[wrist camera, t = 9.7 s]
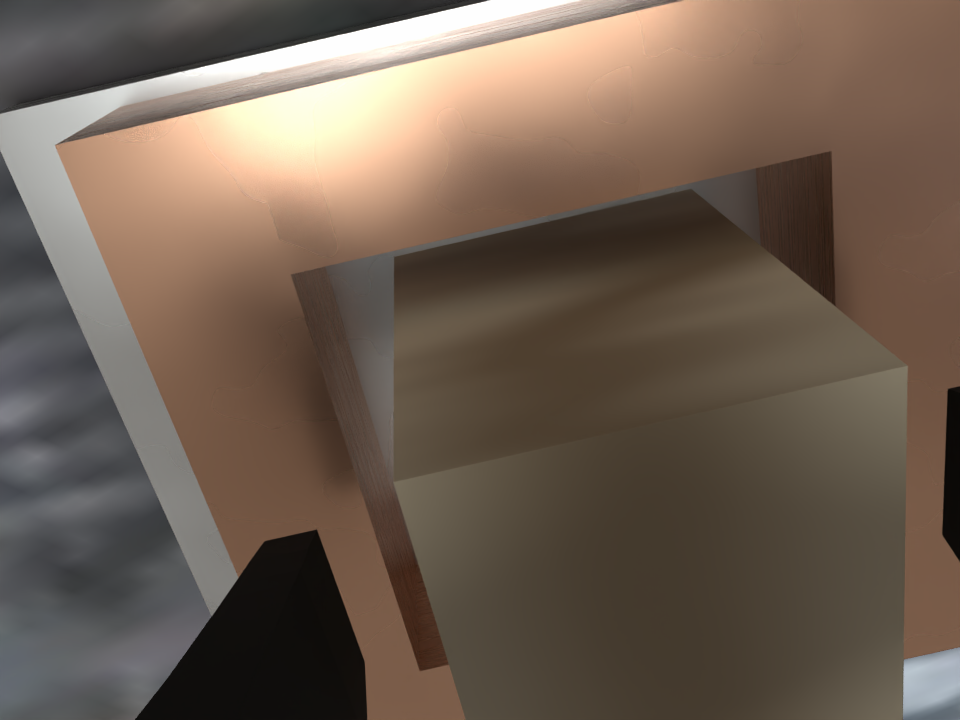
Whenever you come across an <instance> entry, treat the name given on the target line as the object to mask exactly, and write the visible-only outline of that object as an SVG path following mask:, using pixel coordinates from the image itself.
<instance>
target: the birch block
mask: <svg viewBox="0 0 960 720" xmlns="http://www.w3.org/2000/svg"><path fill="white" fill-rule="evenodd" d="M907 375H908V366H907V365H906V364H905V363H904V362H902V361H901V360H900V359H899V358H898V357H896V356H895V355H894V354H893V353H891V352H890V351H889V350H888V349H887V348H885V347H884V346H883V345H882V344H880V343H879V342H878V341H877V340H876V339H874V338H873V337H872V336H871V335H869V334H868V333H867V332H866V331H865V330H863V329H862V328H861V327H860V326H858V325H857V324H856V323H855V322H854V321H852V320H851V319H850V318H849V317H847V316H846V315H845V314H844V313H843V312H841V311H840V310H839V309H838V308H836V307H835V306H834V305H833V304H832V303H830V302H829V301H828V300H827V299H825V298H824V297H823V296H822V295H821V294H819V293H818V292H817V291H816V290H814V289H813V288H812V287H811V286H810V285H808V284H807V283H806V282H805V281H803V280H802V279H801V278H800V277H799V276H797V275H796V274H795V273H794V272H792V271H791V270H790V269H789V268H788V267H786V266H785V265H784V264H783V263H781V262H780V261H779V260H778V259H777V258H775V257H774V256H773V255H772V254H770V253H769V252H768V251H767V250H766V249H764V248H763V247H762V246H761V245H759V244H758V243H757V242H756V241H755V240H753V239H752V238H751V237H750V236H748V235H747V234H746V233H745V232H744V231H742V230H741V229H740V228H739V227H737V226H736V225H735V224H734V223H732V222H731V221H730V220H729V219H728V218H726V217H725V216H724V215H723V214H721V213H720V212H719V211H718V210H717V209H715V208H714V207H713V206H712V205H710V204H709V203H708V202H707V201H706V200H704V199H703V198H702V197H701V196H699V195H698V194H697V193H696V192H695V191H693V190H692V189H688V190H683V191H679V192H675V193H670V194H666V195H662V196H657V197H653V198H648V199H644V200H640V201H635V202H631V203H627V204H622V205H618V206H614V207H609V208H605V209H601V210H596V211H592V212H587V213H583V214H579V215H574V216H570V217H566V218H561V219H557V220H553V221H548V222H544V223H539V224H535V225H531V226H526V227H522V228H518V229H513V230H509V231H505V232H500V233H496V234H492V235H487V236H483V237H478V238H474V239H470V240H465V241H461V242H457V243H452V244H448V245H444V246H439V247H435V248H431V249H426V250H422V251H417V252H413V253H409V254H404V255H400V256H396V257H394V444H393V483H394V486H395V489H396V492H397V496H398V499H399V502H400V506H401V509H402V512H403V515H404V519H405V522H406V525H407V529H408V532H409V535H410V538H411V542H412V545H413V548H414V552H415V555H416V558H417V561H418V565H419V568H420V571H421V574H422V578H423V581H424V584H425V588H426V591H427V594H428V597H429V601H430V604H431V607H432V611H433V614H434V617H435V620H436V624H437V627H438V630H439V634H440V637H441V640H442V643H443V647H444V650H445V653H446V657H447V660H448V663H449V666H450V670H451V673H452V676H453V680H454V683H455V686H456V689H457V693H458V696H459V699H460V702H461V706H462V709H463V712H464V716H465V719H466V720H903V666H904V593H905V520H906V448H907Z"/></svg>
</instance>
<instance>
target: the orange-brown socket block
mask: <svg viewBox="0 0 960 720" xmlns="http://www.w3.org/2000/svg"><path fill="white" fill-rule="evenodd" d="M0 151H1V153H2V155H3V158H4V160H5V162H6V164H7V166H8V169H9V171H10V173H11V175H12V177H13V180H14V182H15V184H16V186H17V188H18V191H19V193H20V195H21V197H22V199H23V202H24V204H25V206H26V208H27V210H28V213H29V215H30V217H31V219H32V221H33V224H34V226H35V228H36V230H37V232H38V235H39V237H40V239H41V241H42V243H43V246H44V248H45V250H46V252H47V254H48V257H49V259H50V261H51V263H52V265H53V268H54V270H55V272H56V274H57V276H58V279H59V281H60V283H61V285H62V287H63V290H64V292H65V294H66V296H67V298H68V301H69V303H70V305H71V307H72V310H73V312H74V314H75V316H76V318H77V321H78V323H79V325H80V327H81V329H82V332H83V334H84V336H85V338H86V340H87V343H88V345H89V347H90V349H91V351H92V354H93V356H94V358H95V360H96V362H97V365H98V367H99V369H100V371H101V373H102V376H103V378H104V380H105V382H106V384H107V387H108V389H109V391H110V393H111V395H112V398H113V400H114V402H115V404H116V406H117V409H118V411H119V413H120V415H121V417H122V420H123V422H124V424H125V426H126V428H127V431H128V433H129V435H130V437H131V439H132V442H133V444H134V446H135V448H136V450H137V453H138V455H139V457H140V459H141V462H142V464H143V466H144V468H145V470H146V473H147V475H148V477H149V479H150V481H151V484H152V486H153V488H154V490H155V492H156V495H157V497H158V499H159V501H160V503H161V506H162V508H163V510H164V512H165V514H166V517H167V519H168V521H169V523H170V525H171V528H172V530H173V532H174V534H175V536H176V539H177V541H178V543H179V545H180V547H181V550H182V552H183V554H184V556H185V558H186V561H187V563H188V565H189V567H190V569H191V572H192V574H193V576H194V578H195V580H196V583H197V585H198V587H199V589H200V591H201V594H202V596H203V598H204V600H205V602H206V605H207V607H208V609H209V611H210V614H211V616H212V615H213V614H214V612H215V611H216V610H217V608H218V607H219V605H220V604H221V602H222V601H223V599H224V598H225V597H226V595H227V594H228V592H229V591H230V589H231V588H232V586H233V585H234V584H235V582H236V581H237V579H238V578H239V576H240V575H241V573H242V572H243V570H244V569H245V568H246V566H247V565H248V563H249V562H250V560H251V559H252V558H253V556H254V555H255V553H256V552H257V551H258V549H259V548H260V547H261V545H262V544H263V543H264V541H267V540H272V539H276V538H281V537H285V536H290V535H294V534H299V533H303V532H308V531H312V530H316V529H317V531H318V534H319V536H320V539H321V542H322V545H323V547H324V550H325V553H326V556H327V558H328V561H329V564H330V567H331V570H332V572H333V575H334V578H335V581H336V583H337V586H338V589H339V592H340V594H341V597H342V600H343V603H344V606H345V608H346V611H347V614H348V617H349V619H350V622H351V625H352V628H353V630H354V633H355V636H356V639H357V642H358V644H359V647H360V650H361V653H362V655H363V658H364V661H365V675H366V697H367V720H466V719H465V716H464V712H463V709H462V706H461V702H460V699H459V696H458V693H457V689H456V686H455V683H454V680H453V676H452V673H451V670H450V666H449V663H448V660H447V657H446V653H445V650H444V647H443V643H442V640H441V637H440V634H439V630H438V627H437V624H436V620H435V617H434V614H433V611H432V607H431V604H430V601H429V597H428V594H427V591H426V588H425V584H424V581H423V578H422V574H421V571H420V568H419V565H418V561H417V558H416V555H415V552H414V548H413V545H412V542H411V538H410V535H409V532H408V529H407V525H406V522H405V519H404V515H403V512H402V509H401V506H400V502H399V499H398V496H397V492H396V489H395V486H394V483H393V444H394V257H396V256H400V255H404V254H409V253H413V252H417V251H422V250H426V249H431V248H435V247H439V246H444V245H448V244H452V243H457V242H461V241H465V240H470V239H474V238H478V237H483V236H487V235H492V234H496V233H500V232H505V231H509V230H513V229H518V228H522V227H526V226H531V225H535V224H539V223H544V222H548V221H553V220H557V219H561V218H566V217H570V216H574V215H579V214H583V213H587V212H592V211H596V210H601V209H605V208H609V207H614V206H618V205H622V204H627V203H631V202H635V201H640V200H644V199H648V198H653V197H657V196H662V195H666V194H670V193H675V192H679V191H683V190H688V189H692V190H693V191H695V192H696V193H697V194H698V195H699V196H701V197H702V198H703V199H704V200H706V201H707V202H708V203H709V204H710V205H712V206H713V207H714V208H715V209H717V210H718V211H719V212H720V213H721V214H723V215H724V216H725V217H726V218H728V219H729V220H730V221H731V222H732V223H734V224H735V225H736V226H737V227H739V228H740V229H741V230H742V231H744V232H745V233H746V234H747V235H748V236H750V237H751V238H752V239H753V240H755V241H756V242H757V243H758V244H759V245H761V246H762V247H763V248H764V249H766V250H767V251H768V252H769V253H770V254H772V255H773V256H774V257H775V258H777V259H778V260H779V261H780V262H781V263H783V264H784V265H785V266H786V267H788V268H789V269H790V270H791V271H792V272H794V273H795V274H796V275H797V276H799V277H800V278H801V279H802V280H803V281H805V282H806V283H807V284H808V285H810V286H811V287H812V288H813V289H814V290H816V291H817V292H818V293H819V294H821V295H822V296H823V297H824V298H825V299H827V300H828V301H829V302H830V303H832V304H833V305H834V306H835V307H836V308H838V309H839V310H840V311H841V312H843V313H844V314H845V315H846V316H847V317H849V318H850V319H851V320H852V321H854V322H855V323H856V324H857V325H858V326H860V327H861V328H862V329H863V330H865V331H866V332H867V333H868V334H869V335H871V336H872V337H873V338H874V339H876V340H877V341H878V342H879V343H880V344H882V345H883V346H884V347H885V348H887V349H888V350H889V351H890V352H891V353H893V354H894V355H895V356H896V357H898V358H899V359H900V360H901V361H902V362H904V363H905V364H906V365H907V366H908V375H907V448H906V520H905V593H904V659H908V658H913V657H917V656H922V655H926V654H931V653H935V652H940V651H944V650H949V649H953V648H958V647H960V562H959V560H958V558H957V557H956V555H955V554H954V552H953V551H952V549H951V548H950V546H949V545H948V543H947V542H946V540H945V539H944V537H943V535H942V524H943V498H944V471H945V445H946V418H947V392H948V389H949V388H954V387H958V386H960V0H467V1H462V2H458V3H454V4H449V5H445V6H441V7H436V8H432V9H428V10H423V11H419V12H415V13H410V14H406V15H402V16H397V17H393V18H389V19H384V20H380V21H376V22H371V23H367V24H363V25H358V26H354V27H350V28H345V29H341V30H337V31H332V32H328V33H324V34H319V35H315V36H311V37H306V38H302V39H298V40H293V41H289V42H285V43H281V44H276V45H272V46H268V47H263V48H259V49H255V50H250V51H246V52H242V53H237V54H233V55H229V56H224V57H220V58H216V59H211V60H207V61H203V62H198V63H194V64H190V65H185V66H181V67H177V68H172V69H168V70H164V71H159V72H155V73H151V74H146V75H142V76H138V77H133V78H129V79H125V80H120V81H116V82H112V83H107V84H103V85H99V86H94V87H90V88H86V89H82V90H77V91H73V92H69V93H64V94H60V95H56V96H51V97H47V98H43V99H38V100H34V101H30V102H25V103H21V104H17V105H13V106H11V107H9V108H6V109H4V110H2V111H0Z"/></svg>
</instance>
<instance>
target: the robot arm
mask: <svg viewBox="0 0 960 720" xmlns="http://www.w3.org/2000/svg"><path fill="white" fill-rule="evenodd" d="M942 535H943V537H944V539H945V540H946V542H947V543H948V545H949V546H950V548H951V549H952V551H953V552H954V554H955V555H956V557H957V558H958V560H959V562H960V386H958V387H954V388H949V389H948V392H947V418H946V445H945V471H944V498H943V524H942ZM135 720H367V697H366V675H365V661H364V658H363V655H362V653H361V650H360V647H359V644H358V642H357V639H356V636H355V633H354V630H353V628H352V625H351V622H350V619H349V617H348V614H347V611H346V608H345V606H344V603H343V600H342V597H341V594H340V592H339V589H338V586H337V583H336V581H335V578H334V575H333V572H332V570H331V567H330V564H329V561H328V558H327V556H326V553H325V550H324V547H323V545H322V542H321V539H320V536H319V534H318V531H317V529H316V530H312V531H308V532H303V533H299V534H294V535H290V536H285V537H281V538H276V539H272V540H267V541H264V543H263V544H262V545H261V547H260V548H259V549H258V551H257V552H256V553H255V555H254V556H253V558H252V559H251V560H250V562H249V563H248V565H247V566H246V568H245V569H244V570H243V572H242V573H241V575H240V576H239V578H238V579H237V581H236V582H235V584H234V585H233V586H232V588H231V589H230V591H229V592H228V594H227V595H226V597H225V598H224V599H223V601H222V602H221V604H220V605H219V607H218V608H217V610H216V611H215V612H214V614H213V615H212V617H211V618H210V620H209V621H208V622H207V624H206V625H205V627H204V628H203V630H202V631H201V632H200V634H199V635H198V637H197V638H196V639H195V641H194V642H193V644H192V645H191V646H190V648H189V649H188V650H187V652H186V653H185V655H184V656H183V657H182V659H181V660H180V662H179V663H178V664H177V666H176V667H175V669H174V670H173V671H172V673H171V674H170V676H169V677H168V678H167V680H166V681H165V682H164V684H163V685H162V686H161V687H160V689H159V690H158V691H157V692H156V694H155V695H154V696H153V697H152V699H151V700H150V701H149V703H148V704H147V705H146V706H145V708H144V709H143V710H142V711H141V713H140V714H139V715H138V717H137V718H136V719H135Z"/></svg>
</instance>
